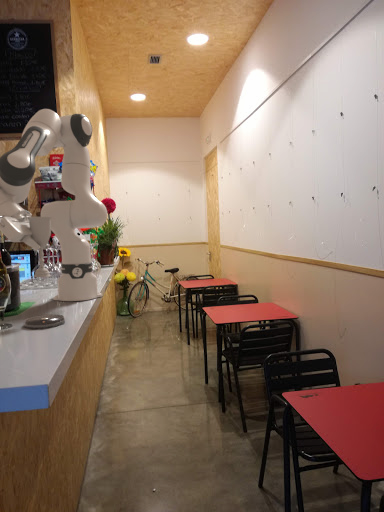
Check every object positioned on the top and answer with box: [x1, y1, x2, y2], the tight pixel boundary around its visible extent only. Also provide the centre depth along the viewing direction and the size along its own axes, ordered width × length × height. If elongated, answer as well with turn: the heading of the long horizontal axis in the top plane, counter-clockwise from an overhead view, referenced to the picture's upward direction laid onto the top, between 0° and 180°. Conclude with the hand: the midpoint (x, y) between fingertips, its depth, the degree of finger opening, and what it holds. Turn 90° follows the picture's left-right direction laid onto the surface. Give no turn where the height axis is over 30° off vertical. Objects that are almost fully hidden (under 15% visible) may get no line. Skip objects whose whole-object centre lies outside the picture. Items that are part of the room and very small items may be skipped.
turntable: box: [24, 314, 66, 330], centre depth 111 cm, size 11×11×2 cm
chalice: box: [27, 216, 52, 278], centre depth 116 cm, size 7×7×18 cm
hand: (43, 248), depth 116 cm, fingers closed on chalice, 5 cm apart
